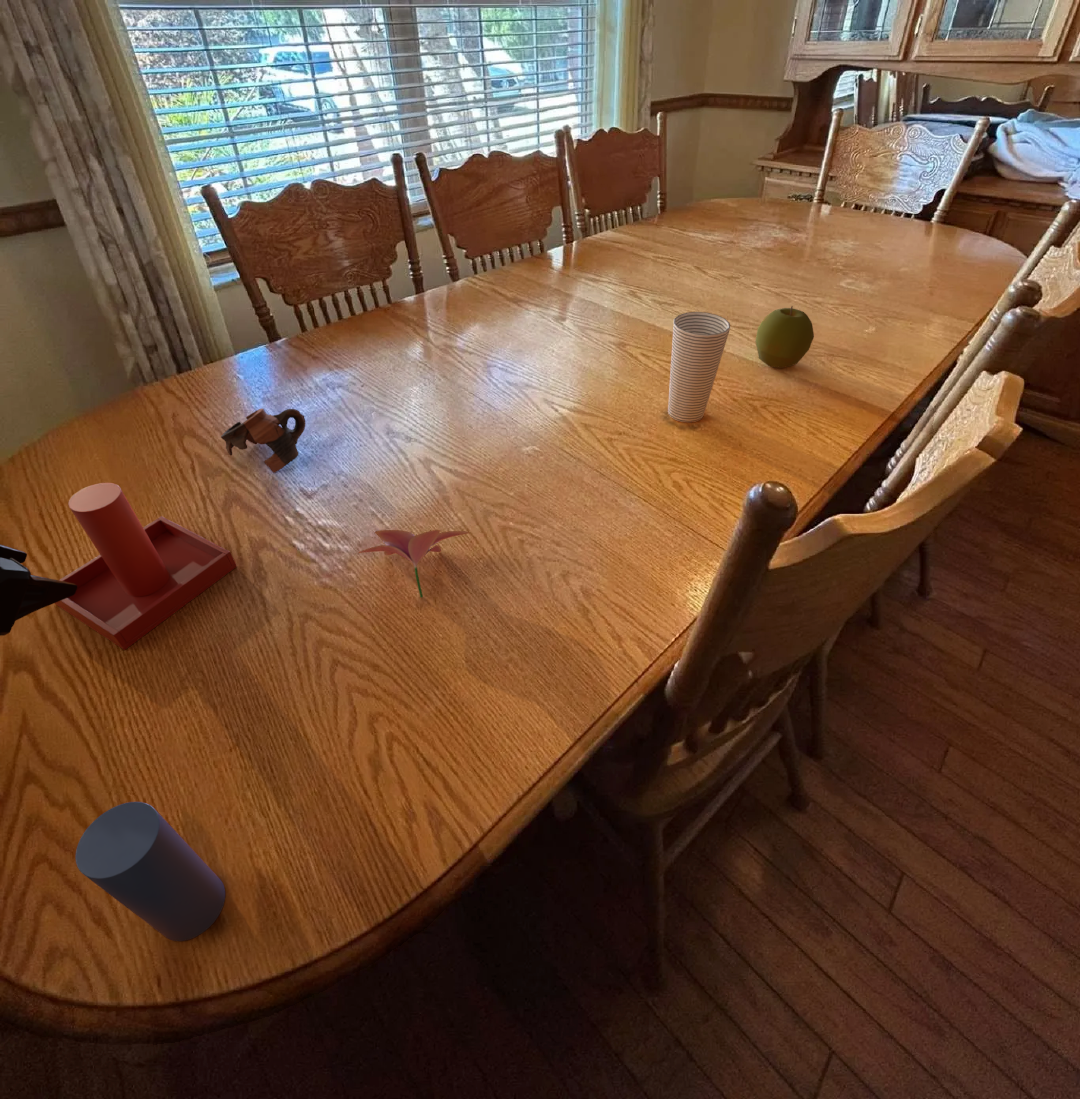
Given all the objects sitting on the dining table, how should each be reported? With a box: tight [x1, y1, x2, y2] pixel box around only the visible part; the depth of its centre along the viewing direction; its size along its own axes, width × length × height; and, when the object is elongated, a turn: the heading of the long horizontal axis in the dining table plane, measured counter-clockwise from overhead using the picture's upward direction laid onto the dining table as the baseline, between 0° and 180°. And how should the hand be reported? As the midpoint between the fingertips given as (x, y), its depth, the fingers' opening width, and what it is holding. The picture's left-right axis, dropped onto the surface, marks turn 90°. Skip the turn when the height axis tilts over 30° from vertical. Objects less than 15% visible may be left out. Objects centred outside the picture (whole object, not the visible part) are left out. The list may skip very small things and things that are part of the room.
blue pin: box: [75, 801, 226, 942], centre depth 46 cm, size 5×5×13 cm
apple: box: [754, 305, 815, 369], centre depth 115 cm, size 10×10×11 cm
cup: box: [667, 311, 731, 423], centre depth 100 cm, size 8×8×16 cm
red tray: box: [54, 515, 238, 651], centre depth 75 cm, size 15×13×3 cm
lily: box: [357, 529, 471, 598], centre depth 75 cm, size 12×12×10 cm
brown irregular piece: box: [220, 408, 306, 474], centre depth 95 cm, size 12×10×8 cm
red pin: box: [68, 482, 169, 597], centre depth 71 cm, size 5×5×13 cm
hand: (49, 573), depth 66 cm, fingers open, 9 cm apart
